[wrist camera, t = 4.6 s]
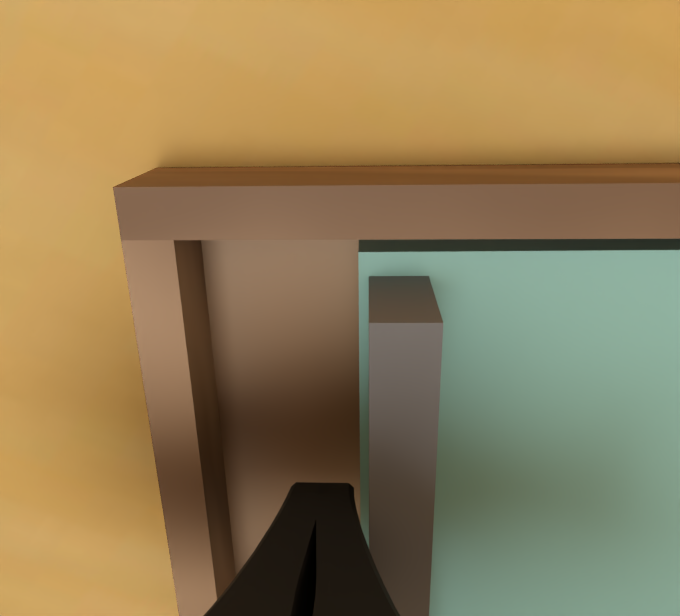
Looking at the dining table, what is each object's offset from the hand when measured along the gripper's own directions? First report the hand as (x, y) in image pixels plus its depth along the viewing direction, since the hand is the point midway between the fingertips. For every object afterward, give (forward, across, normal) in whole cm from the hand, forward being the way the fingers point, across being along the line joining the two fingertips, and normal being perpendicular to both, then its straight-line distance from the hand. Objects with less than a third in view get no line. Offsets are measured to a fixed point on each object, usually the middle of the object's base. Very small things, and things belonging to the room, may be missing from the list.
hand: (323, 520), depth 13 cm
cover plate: (+2, -7, 0) cm, 8 cm away
